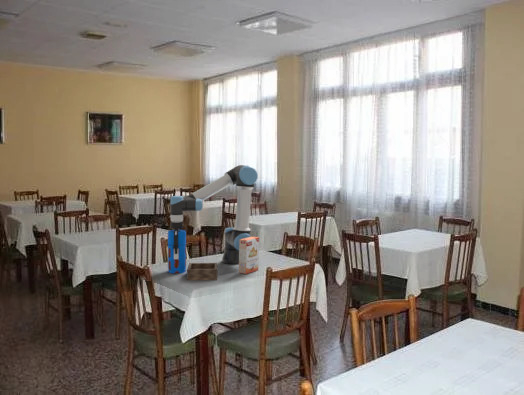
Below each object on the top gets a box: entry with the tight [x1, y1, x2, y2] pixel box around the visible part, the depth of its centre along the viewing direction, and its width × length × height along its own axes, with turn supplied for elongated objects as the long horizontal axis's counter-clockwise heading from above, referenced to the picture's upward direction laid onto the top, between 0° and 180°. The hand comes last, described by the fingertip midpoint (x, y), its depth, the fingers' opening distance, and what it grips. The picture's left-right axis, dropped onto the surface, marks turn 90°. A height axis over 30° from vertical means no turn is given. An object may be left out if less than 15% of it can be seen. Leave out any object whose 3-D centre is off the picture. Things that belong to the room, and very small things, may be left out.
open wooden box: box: [186, 262, 218, 281], centre depth 304 cm, size 17×17×6 cm
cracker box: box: [238, 236, 260, 275], centre depth 315 cm, size 14×6×21 cm, turn 147°
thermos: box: [167, 229, 187, 274], centre depth 313 cm, size 11×11×25 cm
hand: (177, 257), depth 314 cm, fingers closed on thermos, 11 cm apart
